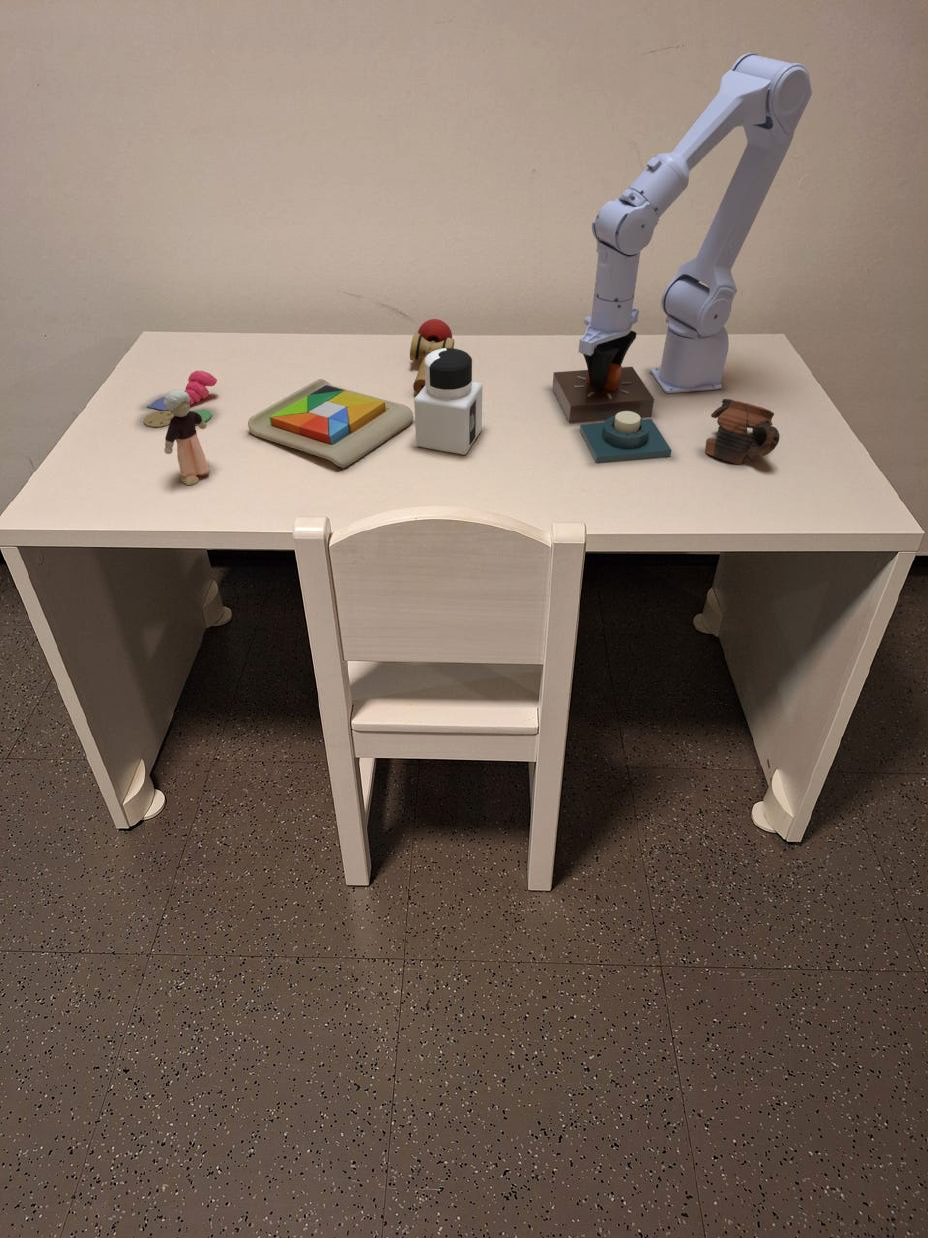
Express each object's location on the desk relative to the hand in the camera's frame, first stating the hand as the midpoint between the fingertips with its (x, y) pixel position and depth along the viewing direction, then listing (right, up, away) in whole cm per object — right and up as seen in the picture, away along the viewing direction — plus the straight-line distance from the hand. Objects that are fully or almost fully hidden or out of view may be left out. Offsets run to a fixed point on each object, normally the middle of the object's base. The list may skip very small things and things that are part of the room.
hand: (603, 382), depth 125 cm
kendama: (-27, +5, +11) cm, 29 cm away
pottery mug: (+18, -13, -8) cm, 24 cm away
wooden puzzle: (-41, -8, -3) cm, 42 cm away
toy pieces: (-66, -4, +1) cm, 66 cm away
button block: (+2, -11, -7) cm, 13 cm away
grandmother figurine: (-59, -17, -12) cm, 62 cm away
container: (-24, -10, -5) cm, 26 cm away
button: (+2, -9, -8) cm, 12 cm away
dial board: (0, -3, +2) cm, 3 cm away
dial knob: (0, 0, 0) cm, 0 cm away
